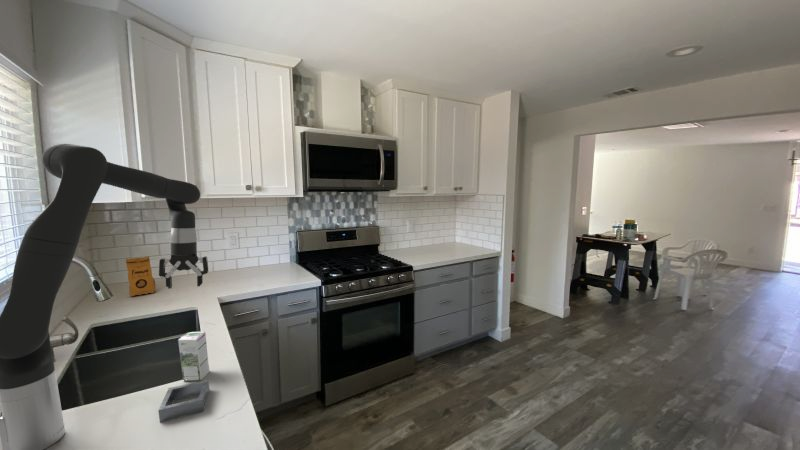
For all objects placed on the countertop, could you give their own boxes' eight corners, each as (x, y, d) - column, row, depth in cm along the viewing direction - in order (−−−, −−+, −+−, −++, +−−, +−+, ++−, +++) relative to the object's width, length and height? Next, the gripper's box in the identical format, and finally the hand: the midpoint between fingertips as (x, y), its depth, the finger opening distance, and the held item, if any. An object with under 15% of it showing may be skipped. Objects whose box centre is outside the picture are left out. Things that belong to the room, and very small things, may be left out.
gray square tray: (159, 422, 86) (158, 410, 86) (170, 399, 95) (168, 388, 95) (203, 411, 90) (202, 399, 89) (209, 390, 99) (208, 379, 99)
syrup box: (210, 370, 110) (206, 330, 108) (200, 381, 104) (196, 338, 102) (192, 371, 109) (188, 331, 107) (182, 382, 103) (177, 339, 102)
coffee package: (155, 294, 189) (151, 257, 186) (128, 298, 182) (123, 260, 180) (157, 289, 197) (153, 254, 195) (131, 293, 191) (126, 257, 188)
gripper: (155, 242, 106) (157, 291, 107) (205, 241, 112) (206, 287, 113) (161, 240, 113) (163, 286, 114) (208, 239, 119) (209, 283, 120)
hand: (184, 287), depth 113 cm, fingers open, 8 cm apart
